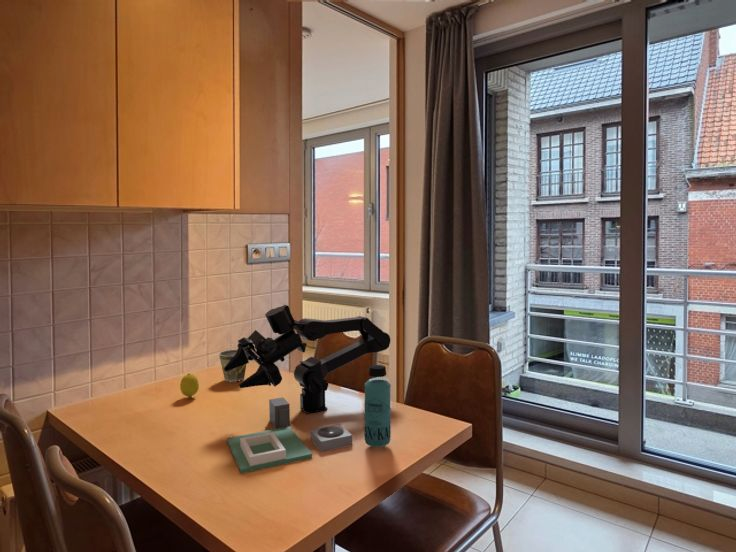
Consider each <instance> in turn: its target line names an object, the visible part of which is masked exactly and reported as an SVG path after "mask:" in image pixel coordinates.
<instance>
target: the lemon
mask: <svg viewBox="0 0 736 552" xmlns="http://www.w3.org/2000/svg"><path fill="white" fill-rule="evenodd" d="M199 385H200V384H199V380H198V377H197V376H196V375H194V374H192V373H190V372H188V373H187V374H186V375H184V376H183V377H182V378H181V380H180V385H179V387H180V388H179V389H180V391H181V393H182V395H183V396H185V397H187V398H188V399H190V398H193V396H195V395H196V394H197V393H198V390H199Z"/></svg>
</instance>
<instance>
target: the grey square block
mask: <svg viewBox="0 0 736 552" xmlns="http://www.w3.org/2000/svg"><path fill="white" fill-rule="evenodd" d="M309 437H310V438H309V439H310V441H311V442H312V443H313V444H314V445H315V446H316V448H317V449H318V450H319V451H320V452H322V453H323V452H326V451H332V450H335V449H341V448H345V447H350V446H353V435H352V433H350V432H349V431H348V430H347V429H346V428H344V426H342V424H340V423H337V424H332V425H327V426H322V427H316V428H312V429H311V428H310V429H309Z"/></svg>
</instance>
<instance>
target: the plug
mask: <svg viewBox="0 0 736 552" xmlns="http://www.w3.org/2000/svg"><path fill="white" fill-rule="evenodd" d="M268 401H269V402H268V404H269V408H268V409H269V422H270V421H271V422H270V423H271V424H272V426H273V427H274V429H278V428H283V427H289V426H290V427H291V422H290V421H291V419H290V418H291V416H290V403H289V402H288V401H287V399H286V398H284V397H282V396H281V397H278V398H272V399H269V400H268Z"/></svg>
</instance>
